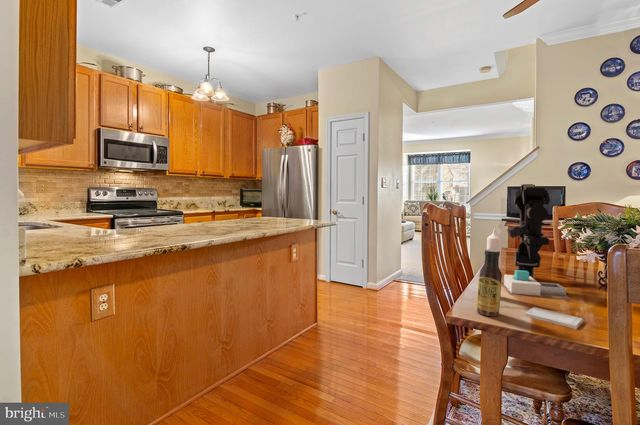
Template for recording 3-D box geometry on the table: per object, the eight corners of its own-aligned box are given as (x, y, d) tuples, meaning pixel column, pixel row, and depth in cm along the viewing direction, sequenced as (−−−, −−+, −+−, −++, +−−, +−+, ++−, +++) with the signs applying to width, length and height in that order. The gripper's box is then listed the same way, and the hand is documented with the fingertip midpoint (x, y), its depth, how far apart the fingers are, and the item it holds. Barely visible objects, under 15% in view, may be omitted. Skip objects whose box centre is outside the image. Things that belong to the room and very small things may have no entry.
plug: (513, 288, 123) (514, 270, 123) (525, 289, 122) (526, 270, 121) (516, 290, 120) (516, 271, 120) (528, 291, 119) (529, 272, 118)
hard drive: (525, 312, 98) (576, 325, 88) (534, 306, 103) (583, 317, 93) (525, 317, 98) (576, 331, 88) (534, 311, 103) (583, 323, 93)
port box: (503, 284, 128) (504, 274, 128) (530, 286, 125) (530, 276, 125) (511, 293, 117) (511, 282, 116) (540, 295, 114) (540, 284, 113)
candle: (500, 296, 116) (503, 227, 114) (506, 303, 109) (509, 229, 107) (479, 295, 118) (481, 227, 116) (483, 301, 111) (485, 229, 109)
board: (501, 285, 130) (501, 282, 130) (555, 289, 124) (555, 287, 124) (511, 297, 115) (511, 294, 115) (573, 303, 109) (573, 300, 109)
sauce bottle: (473, 313, 99) (475, 249, 98) (480, 308, 104) (482, 247, 103) (496, 319, 95) (498, 252, 94) (503, 314, 99) (505, 250, 98)
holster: (533, 288, 122) (534, 281, 122) (558, 290, 120) (558, 283, 120) (539, 293, 116) (540, 286, 116) (565, 295, 114) (565, 288, 113)
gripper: (504, 216, 135) (503, 253, 136) (514, 221, 117) (513, 263, 118) (535, 217, 131) (534, 254, 132) (551, 222, 113) (548, 265, 115)
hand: (531, 259), depth 124 cm, fingers closed
